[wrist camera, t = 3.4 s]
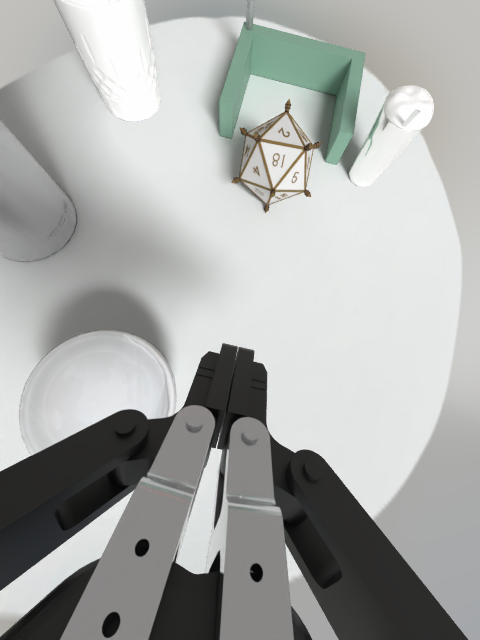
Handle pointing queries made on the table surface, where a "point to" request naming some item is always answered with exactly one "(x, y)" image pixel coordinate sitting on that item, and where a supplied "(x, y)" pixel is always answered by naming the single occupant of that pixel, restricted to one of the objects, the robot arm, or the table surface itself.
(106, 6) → the white cup
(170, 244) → the table surface
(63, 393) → the ramekin
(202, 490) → the table surface
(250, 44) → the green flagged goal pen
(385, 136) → the milkshake
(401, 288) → the table surface
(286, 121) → the game die
